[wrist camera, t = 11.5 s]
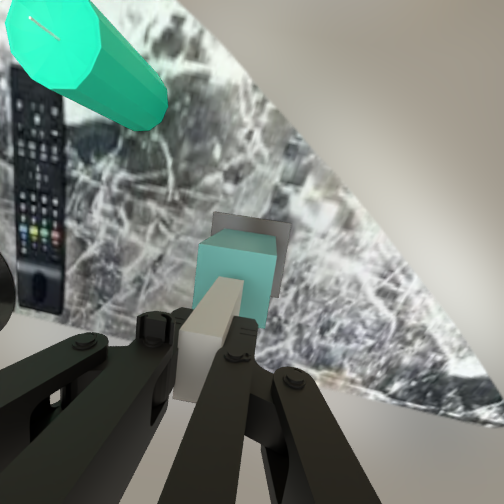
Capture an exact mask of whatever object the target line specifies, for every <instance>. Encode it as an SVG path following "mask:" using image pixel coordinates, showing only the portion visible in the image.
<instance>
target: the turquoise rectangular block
mask: <svg viewBox="0 0 504 504" xmlns="http://www.w3.org/2000/svg"><path fill="white" fill-rule="evenodd" d="M276 259H277V249H276V236H270V235H264V234H257V233H251V232H244V231H238V230H231V229H223V230H221V231H220V232H218V233H216V234H215V235H213V236H211V237H210V238H208V239H206V240H204V241H203V242H201V243H199V248H198V258H197V267H196V277H195V286H194V296H193V305H192V309H195V308H196V307H197V305H198V304H199V302H200V301H201V300H202V298H203V297H204V296H205V294H206V293H207V292H208V290H209V289H210V288H211V286H212V285H213V283H214V282H215V281H216V279H217V278H218V277H219V276H220V277H226V278H232V279H238V280H244V285H243V291H242V298H241V305H240V312H239V316H240V317H246V318H251V319H255V320H256V322H257V324H258V328H264V329H265V325H266V319H267V313H268V307H269V301H270V295H271V289H272V283H273V277H274V271H275V265H276Z"/></svg>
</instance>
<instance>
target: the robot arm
mask: <svg viewBox="0 0 504 504" xmlns="http://www.w3.org/2000/svg"><path fill="white" fill-rule="evenodd" d="M243 285H244V280H238V279H232V278H226V277H220V276H219V277H218V278H217V279H216V281H215V282H214V283H213V285H212V286H211V288H210V289H209V290H208V292H207V293H206V294H205V296H204V297H203V298H202V300H201V301H200V302H199V304H198V305H197V307H196V308H195V309H188V308H183V307H181V308H179V309H177V310H174V311H173V312H172V313H171V314H170V313H166V312H159V311H153V312H146V313H143V314H141V315H139V316H137V324H136V339H135V340H134V341H133V342H132V343H131V344H130V345H129V346H108V342H109V341H108V338H107V337H106V336H105V335H103V334H99V333H94V332H92V333H91V332H87V333H84V334H78V335H75V336H72V337H70V338H68V339H66V340H63V341H61V342H59V343H57V344H55V345H53V346H50V347H48V348H46V349H44V350H42V351H40V352H38V353H36V354H33V355H31V356H29V357H27V358H25V359H23V360H21V361H19V362H17V363H15V364H12V365H10V366H8V367H6V368H4V369H1V370H0V504H119V502H120V500H121V498H122V496H123V494H124V492H125V490H126V488H127V486H128V484H129V482H130V480H131V479H132V476H133V475H134V473H135V471H136V469H137V467H138V465H139V463H140V461H141V459H142V457H143V455H144V453H145V451H146V449H147V447H148V445H149V443H150V441H151V439H152V438H153V436H154V434H155V432H156V430H157V428H158V426H159V424H160V422H161V420H162V418H163V416H164V414H165V412H166V410H167V406H168V398H169V394H170V392H171V391H172V389H173V387H174V390H173V399H176V400H181V401H186V402H192V403H196V406H195V408H194V411H193V414H192V416H191V419H190V421H189V424H188V426H187V429H186V431H185V434H184V437H183V439H182V442H181V444H180V447H179V449H178V452H177V455H176V457H175V460H174V462H173V465H172V468H171V470H170V472H169V475H168V478H167V480H166V483H165V485H164V488H163V491H162V493H161V495H160V498H159V501H158V503H157V504H235V501H236V494H237V486H238V478H239V471H240V464H241V463H240V462H241V455H242V448H243V441H244V435H245V436H247V437H249V438H251V439H253V440H254V441H256V442H258V443H260V444H261V453H262V459H263V463H264V469H265V474H266V479H267V484H268V490H269V495H270V500H271V504H382V503H381V501H380V499H379V498H378V496H377V494H376V492H375V490H374V488H373V487H372V485H371V483H370V481H369V479H368V477H367V476H366V474H365V472H364V470H363V468H362V467H361V465H360V463H359V461H358V459H357V457H356V456H355V454H354V452H353V450H352V448H351V446H350V445H349V443H348V441H347V439H346V437H345V436H344V434H343V432H342V430H341V428H340V426H339V425H338V423H337V421H336V419H335V417H334V416H333V414H332V412H331V410H330V408H329V406H328V405H327V403H326V401H325V399H324V397H323V395H322V394H321V392H320V390H319V388H318V386H317V385H316V383H315V381H314V380H313V378H312V377H311V376H310V375H309V374H308V373H306V372H305V371H303V370H301V369H298V368H295V367H281V368H279V369H277V370H276V371H275V373H274V374H273V373H271V372H268V371H267V370H265V369H263V368H262V367H260V366H259V365H258V364H257V363H256V361H255V357H254V354H255V347H256V339H257V331H258V324H257V322H256V320H255V319H251V318H246V317H240V316H239V312H240V305H241V298H242V291H243ZM13 306H14V286H13V281H12V278H11V275H10V272H9V270H8V267H7V265H6V263H5V261H4V260H3V258H2V257H1V255H0V331H1V330H2V329H3V328H4V326H5V325H6V324H7V322H8V321H9V319H10V316H11V314H12V311H13ZM59 389H60V400H59V401H58V402H56V403H54V404H50V395H51V394H53V393H54V392H56V391H58V390H59Z"/></svg>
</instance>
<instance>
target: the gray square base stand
mask: <svg viewBox="0 0 504 504" xmlns="http://www.w3.org/2000/svg"><path fill="white" fill-rule="evenodd" d="M223 229H231V230H238V231H244V232H251V233H257V234H264V235H270V236H276V249H277V259H276V265H275V271H274V277H273V283H272V289H271V295H270V297H275V298H279V292H280V286H281V281H282V275H283V269H284V263H285V258H286V252H287V246H288V240H289V235H290V229H291V223H286V222H280V221H273V220H266V219H260V218H253V217H247V216H240V215H233V214H227V213H220V212H213V221H212V230H211V236H213V235H215V234H216V233H218V232H220V231H221V230H223Z"/></svg>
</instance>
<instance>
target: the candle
mask: <svg viewBox="0 0 504 504" xmlns="http://www.w3.org/2000/svg"><path fill="white" fill-rule="evenodd" d="M5 25H6V30H7V35H8V40H9V45H10V50H11V53H12V54H13V56H14V57H15V58H16V59H17V61H18V62H19V63H20V64H21V66H22V67H23V68H24V70H25V71H26V72H27V73H28V75H29V76H30V77H31V78H32V79H33V80H35V81H37V82H38V83H40V84H42V85H43V86H45V87H47V88H49V89H51V90H53V91H55V92H57V93H59V94H61V95H63V96H65V97H67V98H69V99H71V100H73V101H75V102H77V103H79V104H81V105H83V106H85V107H87V108H89V109H91V110H93V111H95V112H97V113H99V114H101V115H103V116H105V117H107V118H109V119H111V120H113V121H115V122H117V123H119V124H121V125H123V126H125V127H127V128H129V129H131V130H133V131H149V130H151V129H152V128H154V127H155V126H156V125H158V124H159V123H161V122H162V120H163V117H164V115H165V113H166V110H167V108H168V98H167V89H166V87H165V85H164V84H163V82H162V80H161V79H160V77H159V75H158V74H157V73H156V72H155V71H154V70H153V69H152V67H151V66H150V65H149V64H148V63H147V62H146V61H145V60H144V59H143V58H142V57H141V55H140V54H139V53H138V52H137V51H136V50H135V49H134V48H133V47H132V46H131V44H130V43H129V42H128V41H127V40H126V39H125V38H124V37H123V36H122V35H121V34H120V32H119V31H118V30H117V29H116V28H115V27H114V26H113V25H112V24H111V23H110V22H109V20H108V19H107V18H106V17H105V16H104V15H103V14H102V13H101V12H100V11H99V10H98V8H97V7H96V6H95V5H94V4H93V3H92V2H91V1H90V0H12V3H11V6H10V9H9V12H8V15H7V18H6V21H5Z"/></svg>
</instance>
